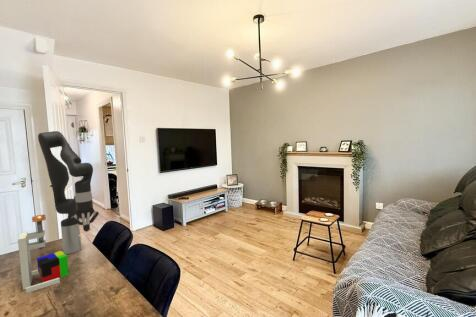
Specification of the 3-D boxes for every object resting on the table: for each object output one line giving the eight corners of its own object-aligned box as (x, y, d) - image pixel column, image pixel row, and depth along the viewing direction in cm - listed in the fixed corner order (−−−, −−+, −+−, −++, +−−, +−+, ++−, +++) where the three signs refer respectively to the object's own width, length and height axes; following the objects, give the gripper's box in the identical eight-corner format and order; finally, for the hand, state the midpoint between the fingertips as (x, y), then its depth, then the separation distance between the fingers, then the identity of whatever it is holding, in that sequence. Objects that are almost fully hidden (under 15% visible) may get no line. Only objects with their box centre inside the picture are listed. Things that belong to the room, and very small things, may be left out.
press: (60, 266, 125) (56, 224, 124) (59, 282, 111) (55, 234, 109) (26, 276, 117) (22, 230, 115) (21, 294, 102) (16, 242, 101)
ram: (48, 244, 117) (45, 214, 116) (48, 248, 113) (45, 216, 112) (35, 247, 114) (32, 216, 113) (34, 251, 110) (31, 218, 109)
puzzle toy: (38, 277, 116) (37, 258, 115) (62, 268, 124) (61, 250, 123) (43, 284, 110) (41, 264, 109) (68, 274, 118) (67, 255, 117)
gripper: (97, 196, 130) (99, 226, 132) (68, 201, 122) (71, 232, 123) (99, 198, 125) (102, 229, 126) (69, 203, 116) (72, 236, 117)
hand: (86, 231), depth 124 cm, fingers closed
